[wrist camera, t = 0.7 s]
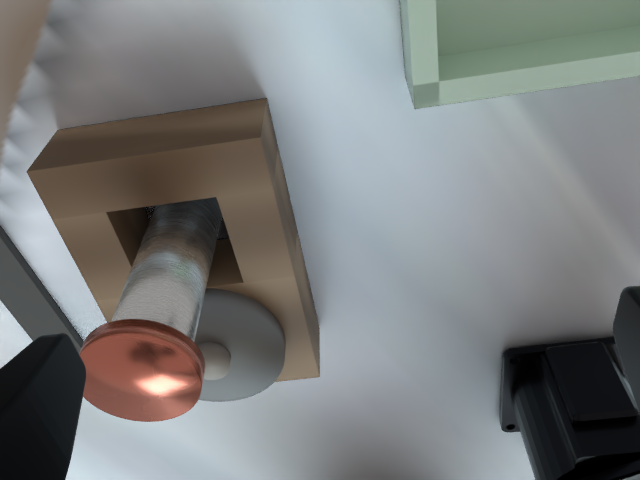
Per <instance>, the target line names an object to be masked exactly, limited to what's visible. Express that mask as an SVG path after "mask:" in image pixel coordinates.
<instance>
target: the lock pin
mask: <svg viewBox="0 0 640 480" xmlns="http://www.w3.org/2000/svg"><path fill="white" fill-rule="evenodd" d="M221 218H222V213H221V210H220V207H219V203H218V200H217V197H213V198H206V199H199V200H191V201H184V202H177V203H170V204H162V205H156V206H155V208H154V211H153V214H152V216H151V219H150V221H149V224H148V227H147V229H146V232H145V235H144V237H143V240H142V242H141V245H140V248H139V250H138V253H137V255H136V258H135V261H134V263H133V266H132V268H131V271H130V274H129V276H128V279H127V281H126V284H125V287H124V289H123V292H122V294H121V297H120V300H119V302H118V305H117V307H116V310H115V313H114V315H113V318H112V321H111V322H109V323H106V324H104V325H101V326H99V327H98V328H96V329H95V330H93V331H92V332H91V333H90V334H89V335H88V336H87V338H86V339H85V341H84V343H83V346H82V348H81V350H80V353H79V355H80V357H81V359H82V361H83V362H84V365H85V368H86V382H85V387H84V393H83V397H84V398H85V399H86V400H87V401H89V402H90V403H91V404H92V405H94V406H95V407H97V408H98V409H100V410H102V411H104V412H106V413H109V414H111V415H114V416H117V417H120V418H124V419H128V420H134V421H144V422H153V421H163V420H168V419H172V418H175V417H178V416H180V415H182V414H184V413H186V412H187V411H189V410H190V409H191V408H192V407H193V406H194V405H195V404H196V403H197V401H198V399H199V397H200V394H201V389H202V384H203V379H204V373H205V360H204V357H203V354H202V352H201V351H200V349H199V348H198V346H197V345H196V344H195V343H194V340H195V336H196V331H197V327H198V322H199V318H200V313H201V309H202V304H203V300H204V295H205V291H206V286H207V282H208V277H209V273H210V268H211V263H212V259H213V254H214V250H215V245H216V241H217V236H218V232H219V227H220V223H221Z"/></svg>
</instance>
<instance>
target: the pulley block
mask: <svg viewBox="0 0 640 480" xmlns="http://www.w3.org/2000/svg"><path fill="white" fill-rule="evenodd" d="M27 173H28V175H29V177H30V179H31V181H32V183H33V185H34V187H35V188H36V190H37V192H38V194H39V196H40V198H41V200H42V201H43V203H44V205H45V207H46V209H47V211H48V213H49V215H50V216H51V218H52V220H53V222H54V224H55V226H56V228H57V229H58V231H59V233H60V235H61V237H62V239H63V241H64V242H65V244H66V246H67V248H68V250H69V252H70V254H71V256H72V257H73V259H74V261H75V263H76V265H77V267H78V269H79V270H80V272H81V274H82V276H83V278H84V280H85V282H86V283H87V285H88V287H89V289H90V291H91V293H92V295H93V297H94V298H95V300H96V302H97V304H98V306H99V308H100V310H101V311H102V313H103V315H104V317H105V319H106V321H107V323H109V322H111V321H112V318H113V315H114V313H115V310H116V307H117V305H118V302H119V300H120V297H121V294H122V292H123V289H124V287H125V284H126V281H127V279H128V276H129V274H130V271H131V268H132V266H133V263H134V261H135V258H136V255H137V253H138V250H139V248H140V245H141V242H142V240H143V237H144V235H145V232H146V229H147V227H148V224H149V219H148V216H147V214H146V211H145V209H144V207H148V206H155V205H162V204H170V203H177V202H184V201H191V200H199V199H206V198H213V197H217V200H218V203H219V207H220V210H221V213H222V216H223V219H224V222H225V225H226V229H227V232H228V235H229V238H228V239H221V240H217V241H216V245H215V250H214V254H213V259H212V263H211V268H210V273H209V277H208V282H207V286H206V291H205V295H204V300H203V304H202V309H201V313H200V318H199V322H198V327H197V331H196V336H195V340H194V343H195V344H196V345H197V346H198V348H199V349H200V351H201V352H202V354H203V357H204V360H205V373H204V379H203V384H202V389H201V394H200V397H199V399H198V400H203V401H218V402H222V401H233V400H239V399H243V398H247V397H250V396H253V395H255V394H257V393H260V392H262V391H263V390H265V389H266V388H268V387H269V386H270V385H271V384H273V383H274V382H278V381H287V380H296V379H306V378H315V377H320V354H319V324H318V319H317V315H316V311H315V306H314V302H313V298H312V293H311V289H310V284H309V280H308V276H307V271H306V267H305V263H304V258H303V254H302V250H301V245H300V241H299V236H298V232H297V228H296V223H295V219H294V215H293V210H292V206H291V202H290V197H289V193H288V188H287V184H286V180H285V175H284V171H283V167H282V162H281V158H280V154H279V149H278V145H277V140H276V136H275V132H274V127H273V123H272V119H271V114H270V110H269V105H268V101H267V98H265V99H258V100H251V101H245V102H238V103H232V104H225V105H219V106H212V107H206V108H199V109H192V110H186V111H179V112H173V113H166V114H160V115H153V116H147V117H140V118H133V119H127V120H120V121H114V122H107V123H101V124H94V125H88V126H81V127H74V128H68V129H61V130H57V132H56V133H55V134H54V136H53V137H52V138H51V140H50V141H49V142H48V144H47V145H46V146H45V148H44V149H43V150H42V152H41V153H40V154H39V156H38V157H37V158H36V160H35V161H34V162H33V164H32V165H31V166H30V168H29V169H28V170H27Z"/></svg>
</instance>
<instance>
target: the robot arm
mask: <svg viewBox="0 0 640 480" xmlns="http://www.w3.org/2000/svg"><path fill="white" fill-rule="evenodd" d="M613 334H614V337H612V338H603V339H594V340H585V341H575V342H566V343H557V344H547V345H538V346H529V347H519V348H512V349H508V350H506V351H505V352H504V353H503V356H502V379H501V403H500V424H501V428H502V430H503V431H505V432H519V431H520V432H521V435H522V438H523V441H524V445H525V448H526V451H527V454H528V457H529V461H530V464H531V467H532V470H533V473H534V477H535V480H640V286H630V287H626V288H624V289H623V291H622V292H621V295H620V299H619V303H618V307H617V311H616V315H615V319H614V323H613ZM85 382H86V368H85V365H84V362H83V361H82V359H81V357H80V355H79V353H78V351H77V349H76V347H75V345H74V344H73V342H72V340H71V338H70V337H69V336H68V335H67V334H65V333H55V334H45V335H41V336H39V337H38V338H37V339H35V340H34V341H33V342H32V343H31V344H29V345H28V346H27V347H26V348H25V349H23V350H22V351H21V352H20V353H19V354H17V355H16V356H15V357H14V358H13V359H12V360H10V361H9V362H8V363H7V364H6V365H4V366H3V367H2V368H1V369H0V480H65V478H66V475H67V471H68V468H69V464H70V460H71V455H72V451H73V446H74V441H75V435H76V430H77V425H78V419H79V414H80V409H81V403H82V398H83V393H84V387H85Z"/></svg>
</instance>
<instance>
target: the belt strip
mask: <svg viewBox="0 0 640 480" xmlns="http://www.w3.org/2000/svg"><path fill="white" fill-rule="evenodd" d="M0 300H1V301H2V302H3V304H4V305H5V306H6V308H7V309H8V310H9V311H10V313H11V314H12V315H13V316H14V318H15V319H16V320H17V321H18V323H19V324H20V325H21V326H22V328H23V329H24V330H25V331H26V333H27V334H28V335H29V336H30V338H31V339H32V340H33V341H34V340H35V339H37V338H38V337H39V336H41V335H45V334H55V333H65V334H67V335H68V336H69V337H70V338H71V340H72V342H73V344H74V345H75V347H76V349H77V351H78V353H80V350H81V348H82V346H83V343H84V342H83V340H82V339H81V338H80V336H79V335H78V333H77V332H76V331H75V329H74V328H73V326H72V325H71V324H70V322H69V321H68V319H67V318H66V317H65V315H64V314H63V313H62V311H61V310H60V308H59V307H58V306H57V304H56V303H55V301H54V300H53V299H52V297H51V296H50V294H49V293H48V292H47V290H46V289H45V288H44V286H43V285H42V283H41V282H40V281H39V279H38V278H37V276H36V275H35V274H34V272H33V271H32V270H31V268H30V267H29V265H28V264H27V263H26V261H25V260H24V258H23V257H22V256H21V254H20V253H19V251H18V250H17V249H16V247H15V246H14V245H13V243H12V242H11V240H10V239H9V238H8V236H7V235H6V233H5V232H4V231H3V229H2V228H1V226H0Z"/></svg>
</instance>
